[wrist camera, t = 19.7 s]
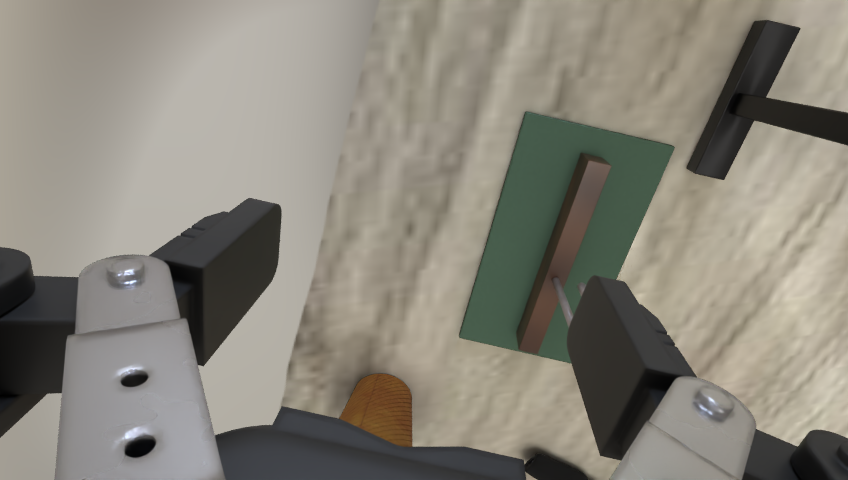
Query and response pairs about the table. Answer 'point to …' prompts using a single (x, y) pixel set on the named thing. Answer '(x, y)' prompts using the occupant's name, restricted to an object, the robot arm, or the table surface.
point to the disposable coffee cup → (382, 408)
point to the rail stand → (759, 103)
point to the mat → (537, 214)
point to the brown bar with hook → (562, 252)
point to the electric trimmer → (551, 469)
